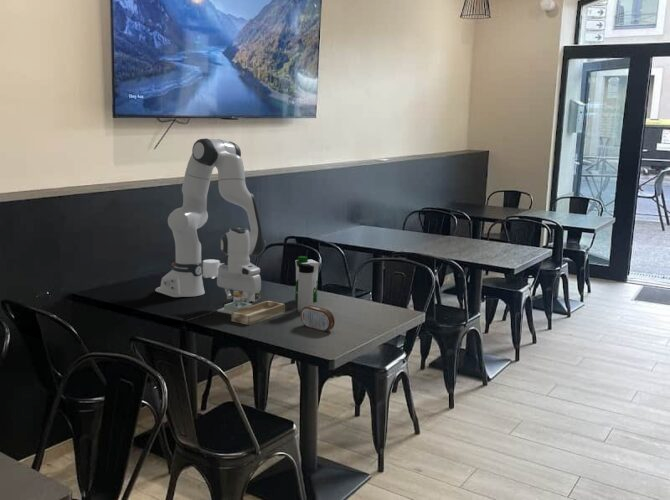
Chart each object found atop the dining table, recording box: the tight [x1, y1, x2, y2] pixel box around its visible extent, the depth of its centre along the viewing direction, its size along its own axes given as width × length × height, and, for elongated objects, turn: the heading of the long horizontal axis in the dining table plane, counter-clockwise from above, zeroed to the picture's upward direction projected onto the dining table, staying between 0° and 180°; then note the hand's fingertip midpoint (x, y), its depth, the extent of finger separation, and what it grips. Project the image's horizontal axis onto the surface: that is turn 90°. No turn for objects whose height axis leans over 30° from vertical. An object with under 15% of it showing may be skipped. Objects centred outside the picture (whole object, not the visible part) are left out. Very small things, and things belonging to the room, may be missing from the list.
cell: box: [232, 289, 244, 307], centre depth 282 cm, size 4×4×8 cm
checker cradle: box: [216, 301, 253, 315], centre depth 282 cm, size 12×12×3 cm
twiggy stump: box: [202, 259, 226, 280], centre depth 343 cm, size 20×19×8 cm
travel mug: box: [297, 264, 314, 313], centre depth 283 cm, size 6×7×20 cm
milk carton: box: [294, 255, 320, 303], centre depth 298 cm, size 9×9×20 cm
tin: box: [300, 304, 336, 332], centre depth 261 cm, size 15×3×8 cm, turn 51°
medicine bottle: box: [243, 291, 261, 303], centre depth 300 cm, size 7×7×12 cm
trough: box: [230, 300, 286, 326], centre depth 275 cm, size 9×23×4 cm, turn 149°
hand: (238, 300), depth 282 cm, fingers open, 8 cm apart
